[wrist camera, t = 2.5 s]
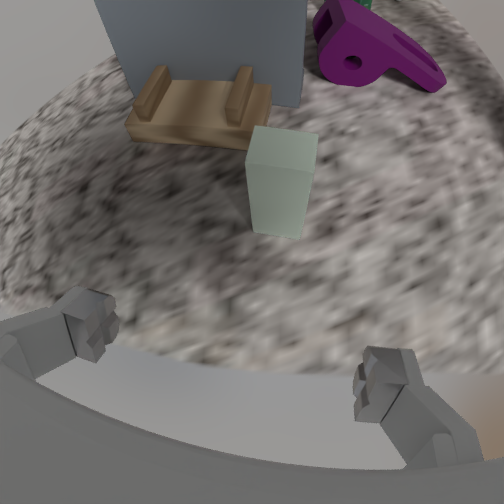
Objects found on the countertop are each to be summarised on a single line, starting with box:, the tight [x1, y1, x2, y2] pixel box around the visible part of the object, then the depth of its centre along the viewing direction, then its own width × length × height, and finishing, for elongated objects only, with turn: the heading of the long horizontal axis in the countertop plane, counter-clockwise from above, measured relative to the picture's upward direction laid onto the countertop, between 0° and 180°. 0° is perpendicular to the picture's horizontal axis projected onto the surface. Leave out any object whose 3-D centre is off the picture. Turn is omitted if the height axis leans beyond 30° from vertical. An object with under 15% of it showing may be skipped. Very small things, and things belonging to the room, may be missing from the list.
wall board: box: [94, 0, 308, 108], centre depth 26 cm, size 20×5×18 cm, turn 79°
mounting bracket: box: [313, 0, 447, 93], centre depth 33 cm, size 9×8×18 cm
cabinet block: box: [245, 125, 319, 240], centre depth 23 cm, size 4×3×10 cm
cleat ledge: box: [124, 65, 272, 151], centre depth 30 cm, size 14×7×6 cm, turn 79°
